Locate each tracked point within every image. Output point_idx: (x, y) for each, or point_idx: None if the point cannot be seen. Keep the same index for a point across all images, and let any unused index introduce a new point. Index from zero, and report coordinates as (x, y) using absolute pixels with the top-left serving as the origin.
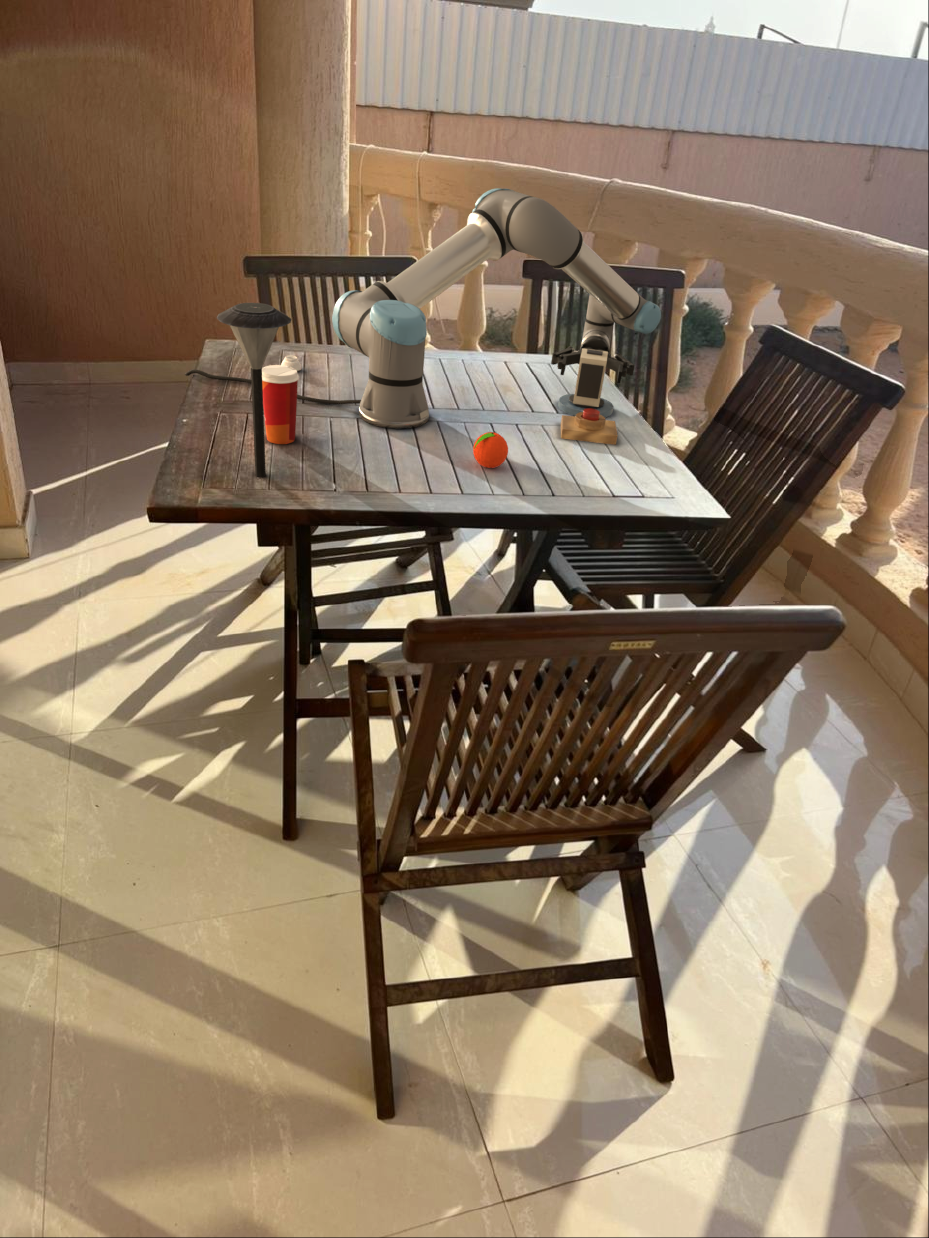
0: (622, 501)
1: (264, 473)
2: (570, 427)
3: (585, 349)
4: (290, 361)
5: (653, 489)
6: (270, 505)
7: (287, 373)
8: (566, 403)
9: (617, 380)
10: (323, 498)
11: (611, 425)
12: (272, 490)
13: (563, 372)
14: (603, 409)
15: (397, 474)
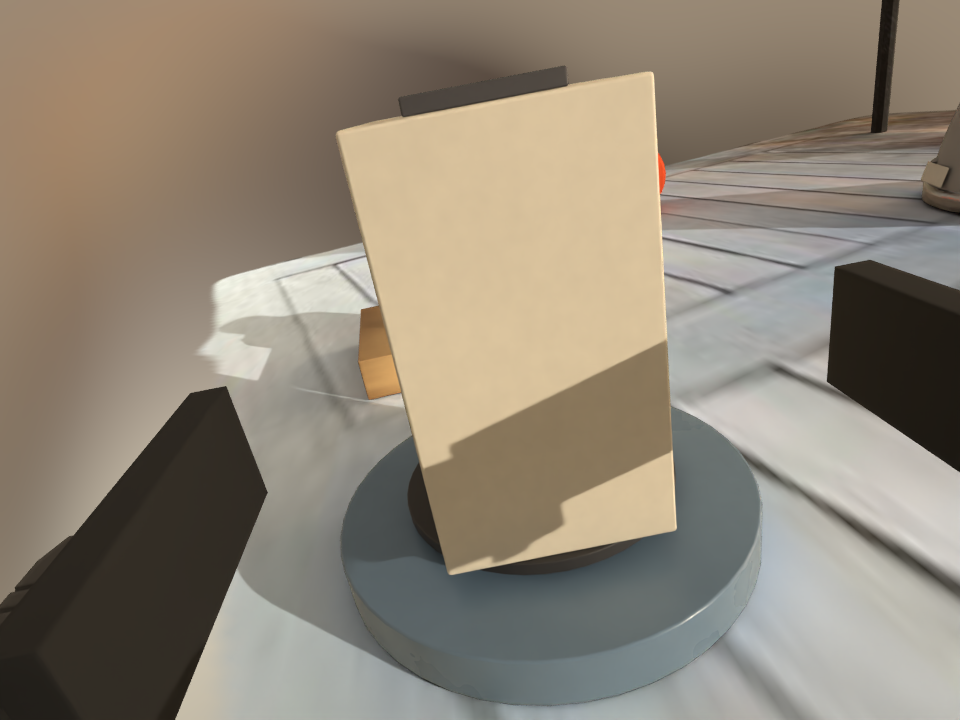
0: None
1: (871, 127)
2: None
3: (603, 79)
4: None
5: (308, 278)
6: (786, 136)
7: None
8: None
9: (258, 473)
10: (756, 148)
11: (377, 335)
12: (822, 136)
13: (833, 353)
14: (412, 459)
15: (739, 172)
